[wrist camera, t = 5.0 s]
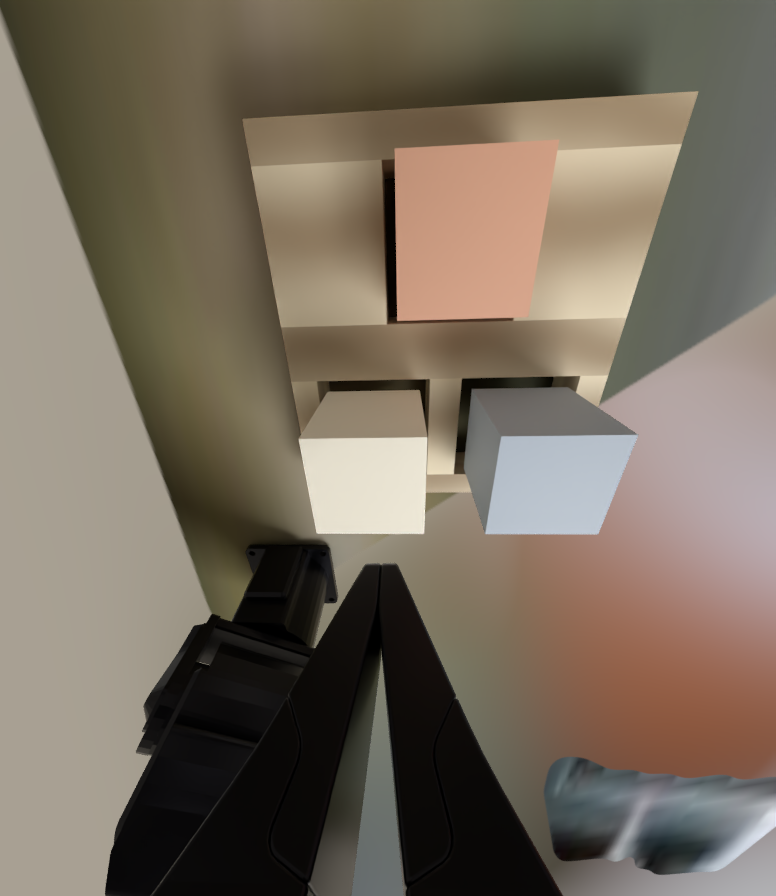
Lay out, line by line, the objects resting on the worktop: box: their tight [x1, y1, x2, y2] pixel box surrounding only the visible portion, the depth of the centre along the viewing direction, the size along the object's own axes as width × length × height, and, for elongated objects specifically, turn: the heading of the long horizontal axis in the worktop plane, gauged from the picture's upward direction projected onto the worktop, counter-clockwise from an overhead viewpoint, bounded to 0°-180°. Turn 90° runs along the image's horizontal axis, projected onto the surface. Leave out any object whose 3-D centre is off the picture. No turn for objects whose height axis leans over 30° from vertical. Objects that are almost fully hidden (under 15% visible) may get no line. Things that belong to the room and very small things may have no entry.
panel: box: [242, 91, 698, 492], centre depth 15 cm, size 16×15×2 cm
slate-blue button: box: [464, 387, 638, 534], centre depth 14 cm, size 4×4×5 cm
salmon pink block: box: [395, 140, 559, 321], centre depth 12 cm, size 4×4×5 cm
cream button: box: [299, 390, 427, 534], centre depth 14 cm, size 4×4×5 cm
